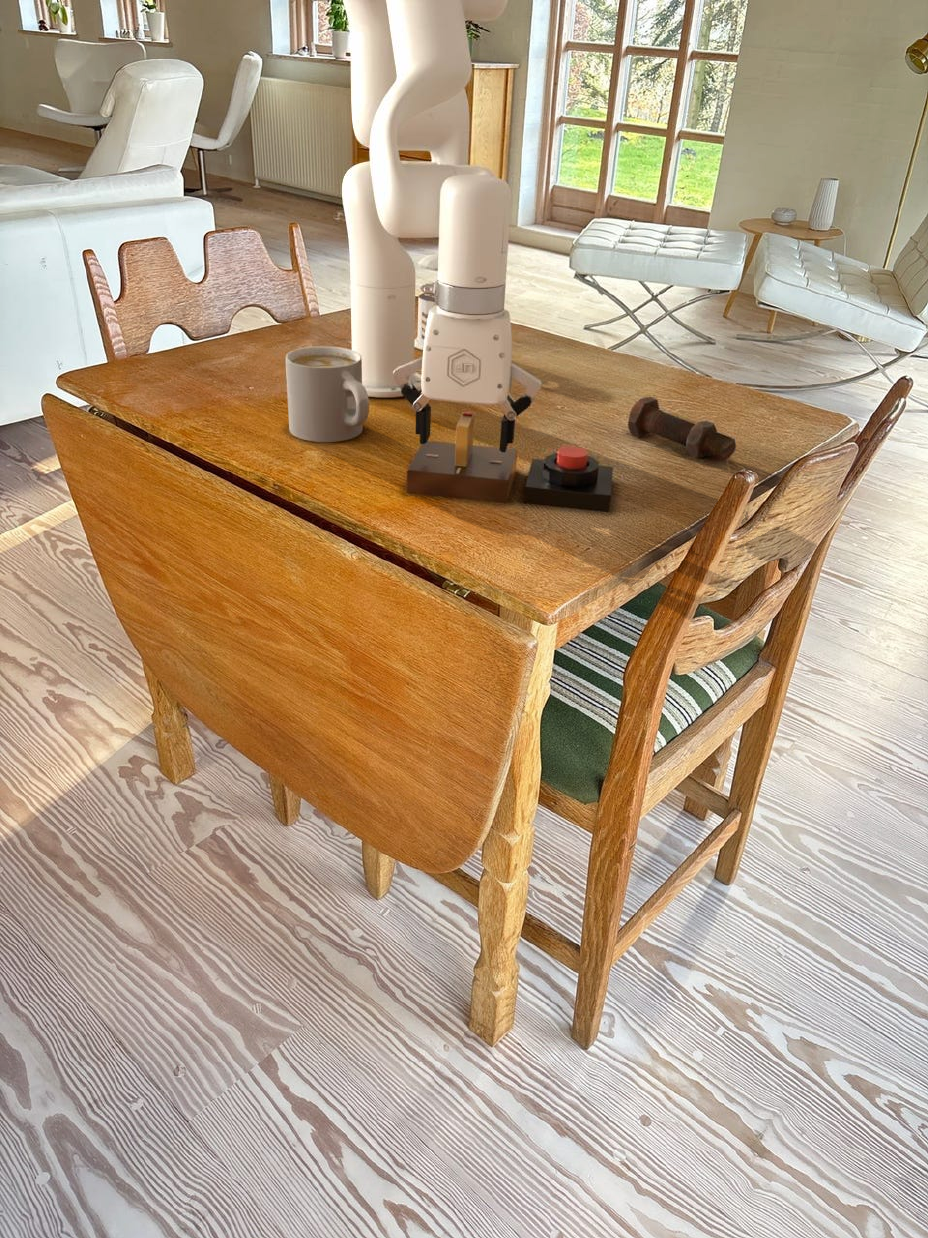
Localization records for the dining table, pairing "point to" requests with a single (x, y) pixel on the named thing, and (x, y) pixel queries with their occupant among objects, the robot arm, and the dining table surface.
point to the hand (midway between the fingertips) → (464, 444)
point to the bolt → (679, 430)
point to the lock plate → (462, 473)
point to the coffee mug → (325, 393)
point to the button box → (569, 485)
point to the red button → (572, 457)
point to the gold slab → (464, 439)
